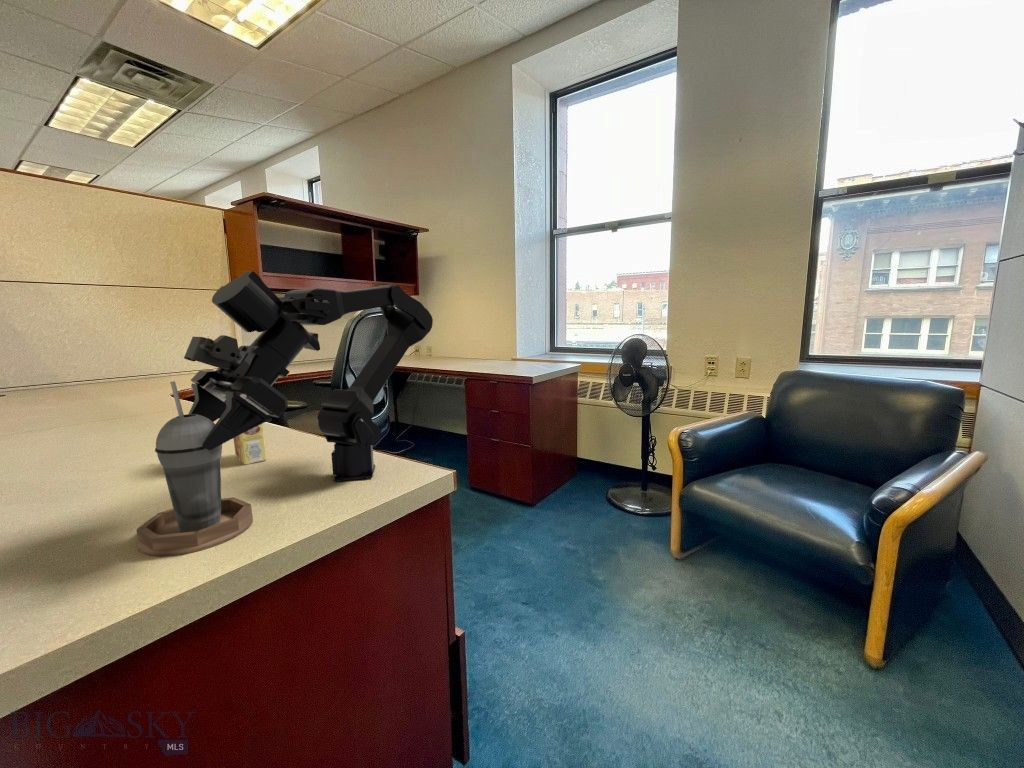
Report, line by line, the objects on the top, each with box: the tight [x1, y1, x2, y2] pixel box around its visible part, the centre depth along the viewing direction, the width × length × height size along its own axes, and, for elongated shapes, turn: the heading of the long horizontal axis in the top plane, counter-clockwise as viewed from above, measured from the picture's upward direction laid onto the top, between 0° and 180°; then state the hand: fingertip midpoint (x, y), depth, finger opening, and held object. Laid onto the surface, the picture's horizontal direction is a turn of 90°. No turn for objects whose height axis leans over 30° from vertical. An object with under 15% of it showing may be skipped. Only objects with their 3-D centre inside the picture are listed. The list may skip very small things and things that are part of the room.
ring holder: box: [136, 497, 254, 557], centre depth 59 cm, size 13×13×2 cm
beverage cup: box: [154, 380, 223, 533], centre depth 57 cm, size 7×7×20 cm
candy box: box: [232, 423, 267, 465], centre depth 90 cm, size 9×4×15 cm, turn 44°
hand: (193, 442), depth 58 cm, fingers open, 9 cm apart
